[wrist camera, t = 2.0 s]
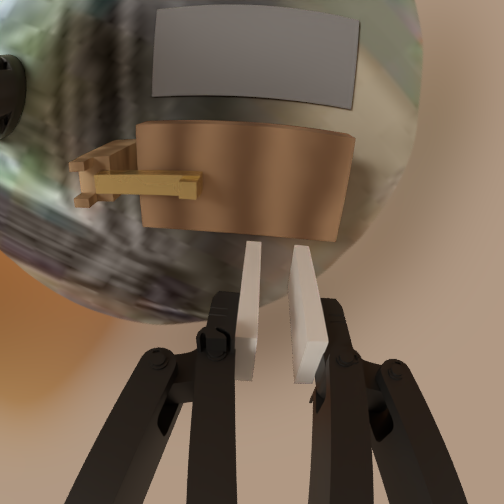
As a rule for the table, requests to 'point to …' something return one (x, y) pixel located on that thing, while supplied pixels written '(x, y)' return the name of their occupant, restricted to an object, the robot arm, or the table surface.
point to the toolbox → (102, 168)
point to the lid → (248, 177)
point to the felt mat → (255, 53)
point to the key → (150, 182)
